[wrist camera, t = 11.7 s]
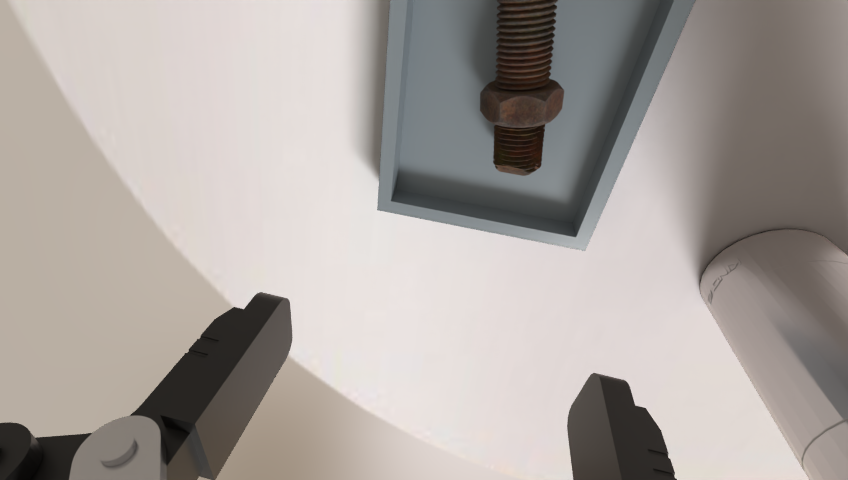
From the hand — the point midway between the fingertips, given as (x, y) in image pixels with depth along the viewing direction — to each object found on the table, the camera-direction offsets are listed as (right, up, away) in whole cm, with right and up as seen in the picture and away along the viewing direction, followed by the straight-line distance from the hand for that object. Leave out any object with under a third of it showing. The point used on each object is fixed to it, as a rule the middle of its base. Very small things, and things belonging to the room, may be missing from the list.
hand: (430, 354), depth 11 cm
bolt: (+6, +15, +14) cm, 22 cm away
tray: (+6, +15, +15) cm, 22 cm away
